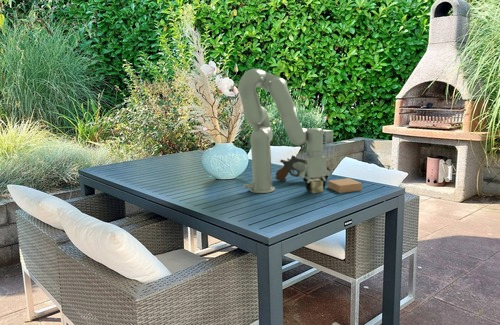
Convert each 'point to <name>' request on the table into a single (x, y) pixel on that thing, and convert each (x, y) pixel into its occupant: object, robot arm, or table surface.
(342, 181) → the terracotta base
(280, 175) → the gun
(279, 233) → the table surface
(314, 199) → the table surface
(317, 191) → the beech cube
